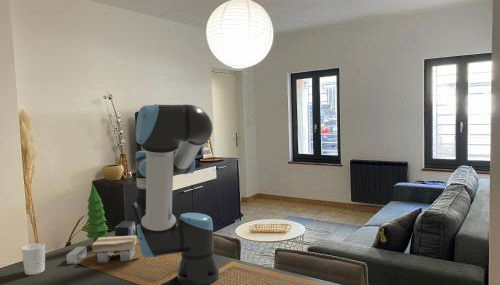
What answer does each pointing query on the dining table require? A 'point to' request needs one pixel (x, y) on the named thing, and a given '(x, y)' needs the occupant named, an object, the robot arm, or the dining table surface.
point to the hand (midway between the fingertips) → (148, 241)
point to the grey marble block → (76, 255)
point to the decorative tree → (96, 216)
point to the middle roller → (104, 256)
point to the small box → (125, 228)
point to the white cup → (34, 258)
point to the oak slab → (114, 243)
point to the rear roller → (127, 254)
